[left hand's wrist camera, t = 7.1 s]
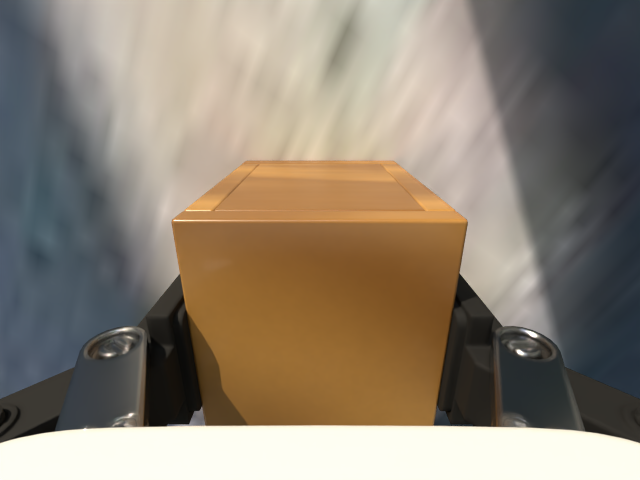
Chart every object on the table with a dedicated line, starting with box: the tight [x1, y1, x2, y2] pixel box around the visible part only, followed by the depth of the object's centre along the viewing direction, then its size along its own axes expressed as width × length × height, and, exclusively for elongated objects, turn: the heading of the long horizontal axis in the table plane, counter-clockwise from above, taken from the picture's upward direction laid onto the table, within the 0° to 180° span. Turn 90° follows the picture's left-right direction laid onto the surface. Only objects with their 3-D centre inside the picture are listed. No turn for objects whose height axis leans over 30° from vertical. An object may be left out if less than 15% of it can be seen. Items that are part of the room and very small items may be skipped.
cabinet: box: [172, 161, 468, 426], centre depth 14 cm, size 18×6×8 cm, turn 0°
